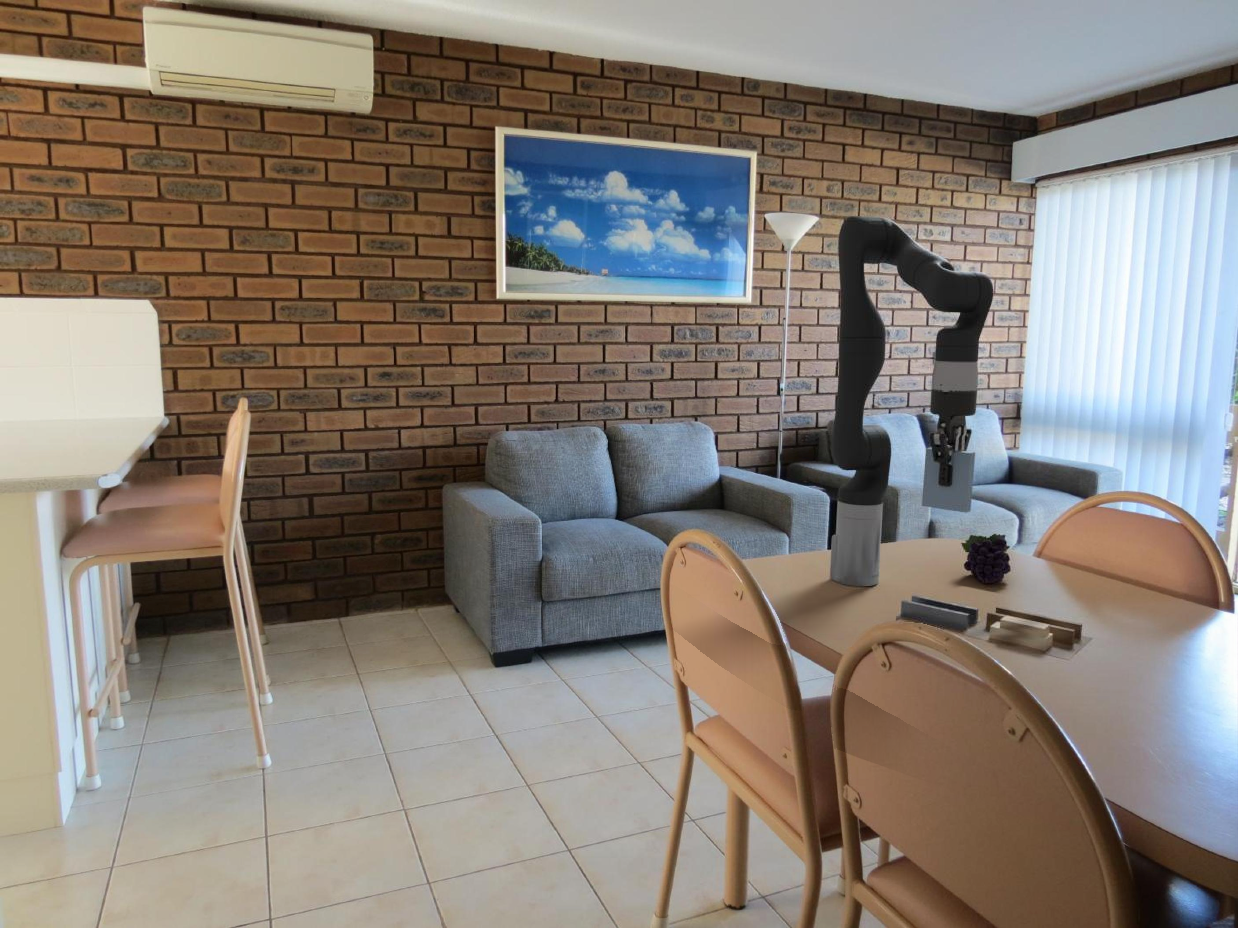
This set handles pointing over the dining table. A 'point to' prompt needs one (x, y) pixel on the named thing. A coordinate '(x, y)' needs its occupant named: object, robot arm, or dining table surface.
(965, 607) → the stand
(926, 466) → the tall sheet
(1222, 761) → the dining table surface
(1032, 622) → the offcut stack
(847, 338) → the robot arm
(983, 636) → the offcut rack
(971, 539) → the fruit
